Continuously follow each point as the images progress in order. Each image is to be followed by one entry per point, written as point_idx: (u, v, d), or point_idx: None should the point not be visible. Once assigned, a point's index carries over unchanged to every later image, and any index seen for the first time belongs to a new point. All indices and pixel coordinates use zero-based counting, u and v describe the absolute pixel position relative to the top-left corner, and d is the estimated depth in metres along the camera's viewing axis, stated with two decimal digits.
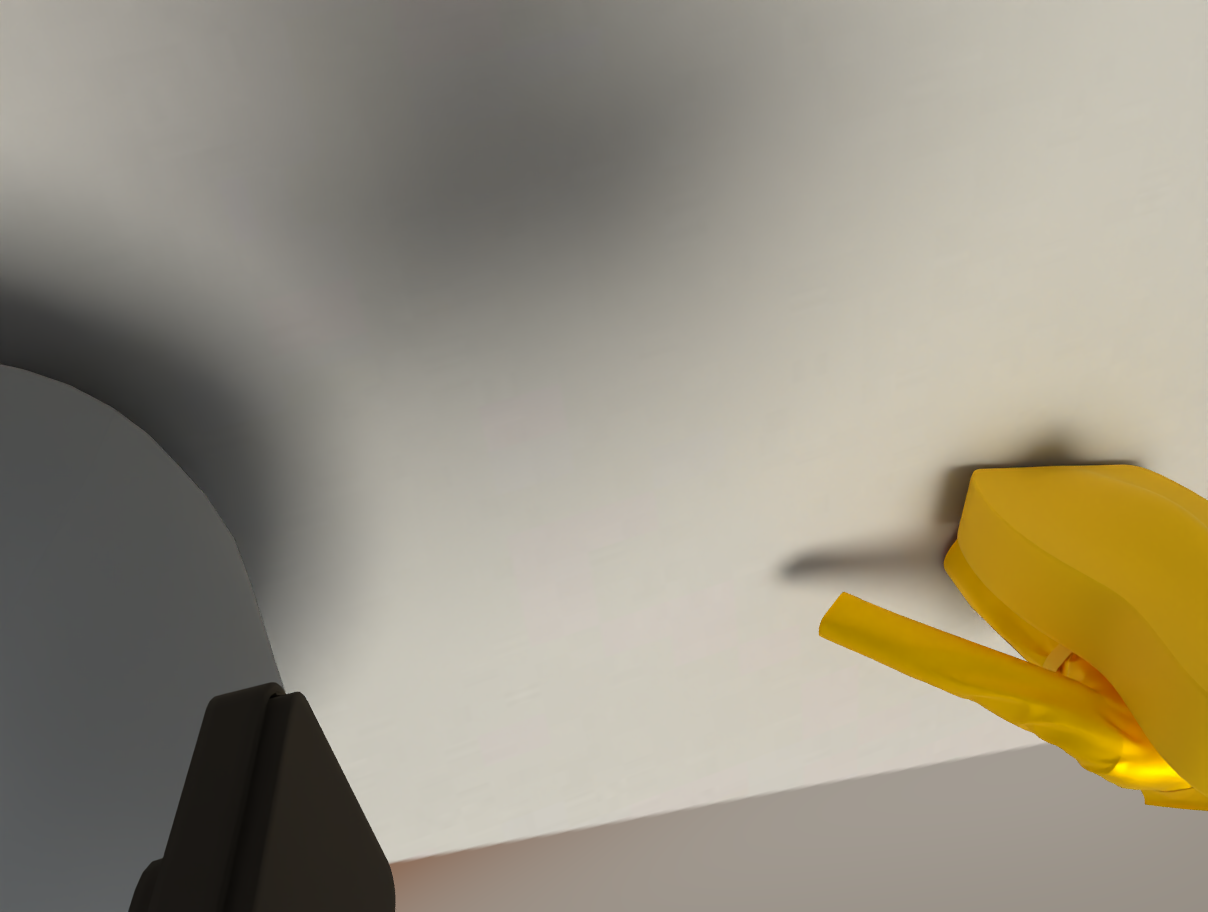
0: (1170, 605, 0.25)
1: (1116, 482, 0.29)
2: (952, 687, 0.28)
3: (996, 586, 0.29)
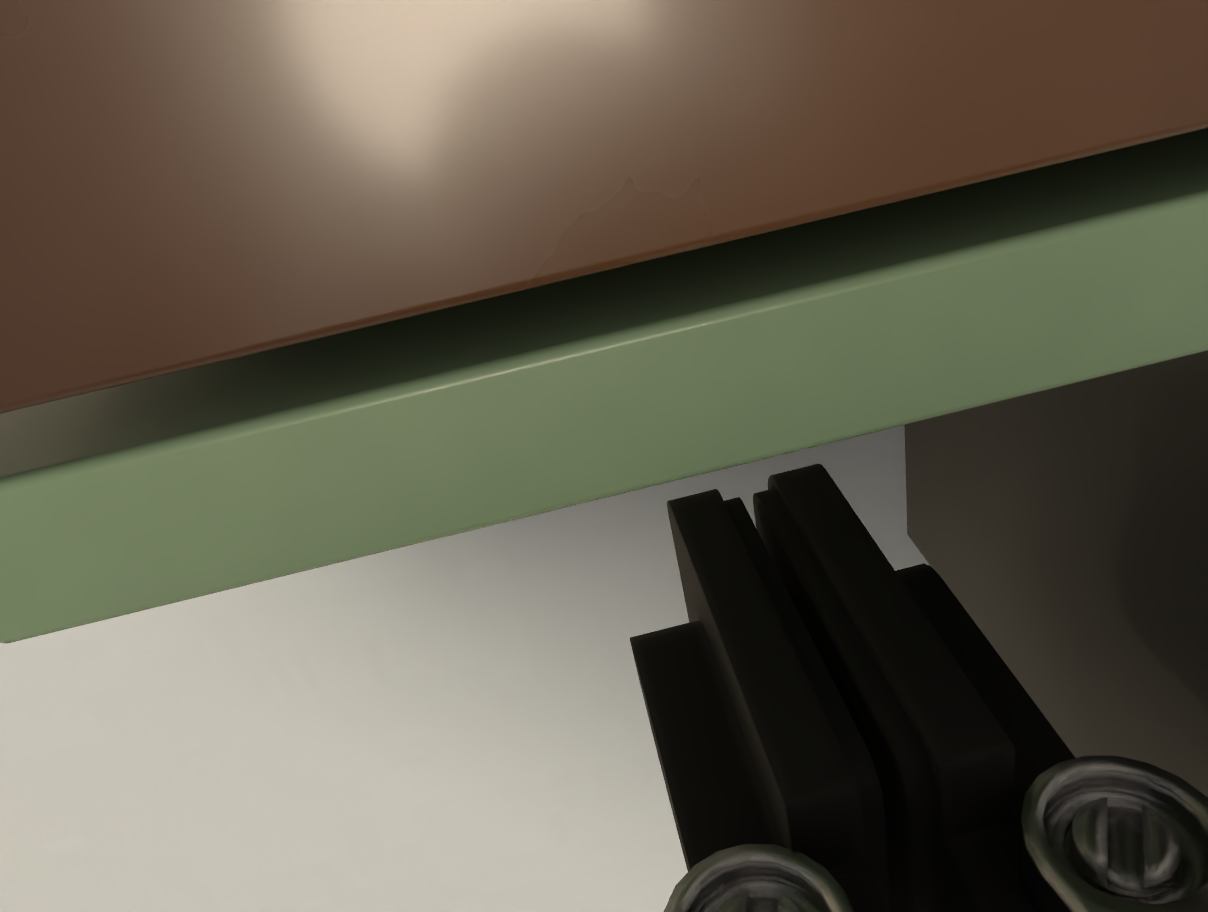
0: None
1: None
2: None
3: None
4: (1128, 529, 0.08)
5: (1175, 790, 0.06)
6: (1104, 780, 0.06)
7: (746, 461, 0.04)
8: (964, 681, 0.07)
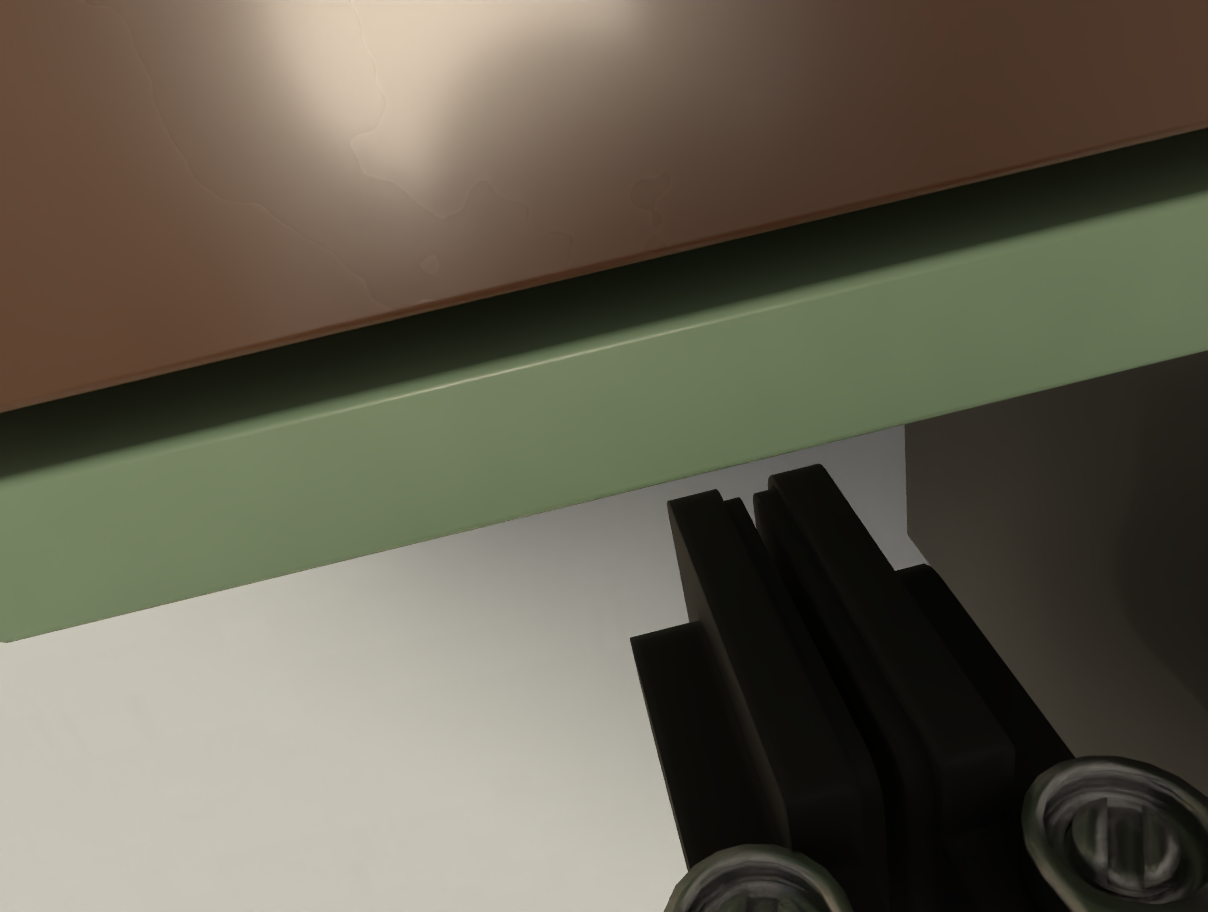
0: None
1: None
2: None
3: None
4: (1128, 531, 0.08)
5: (1176, 792, 0.06)
6: (1104, 780, 0.06)
7: (747, 461, 0.04)
8: (963, 681, 0.07)
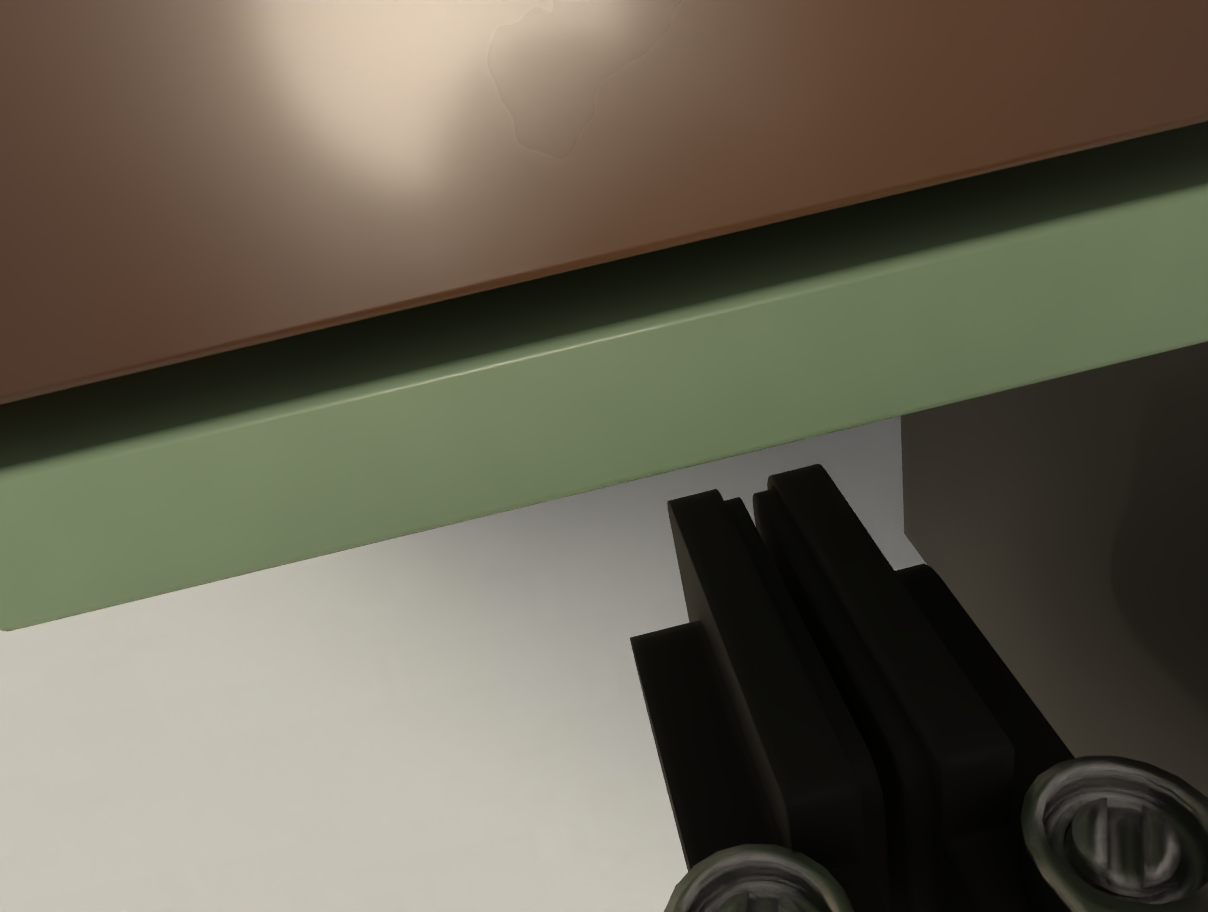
0: None
1: None
2: None
3: None
4: (1120, 526, 0.08)
5: (1175, 792, 0.06)
6: (1104, 780, 0.06)
7: (735, 454, 0.04)
8: (963, 681, 0.07)
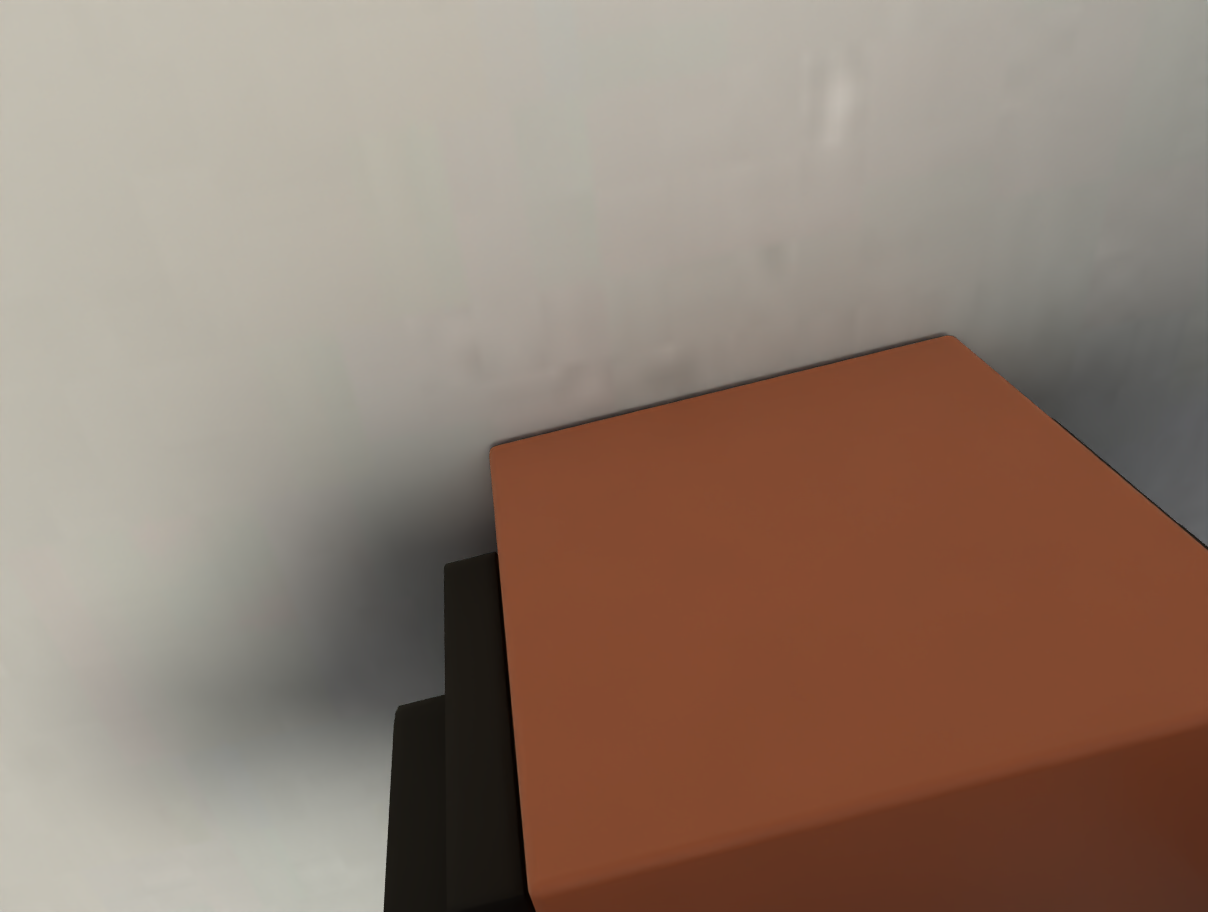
0: None
1: None
2: None
3: None
4: None
5: None
6: None
7: None
8: None
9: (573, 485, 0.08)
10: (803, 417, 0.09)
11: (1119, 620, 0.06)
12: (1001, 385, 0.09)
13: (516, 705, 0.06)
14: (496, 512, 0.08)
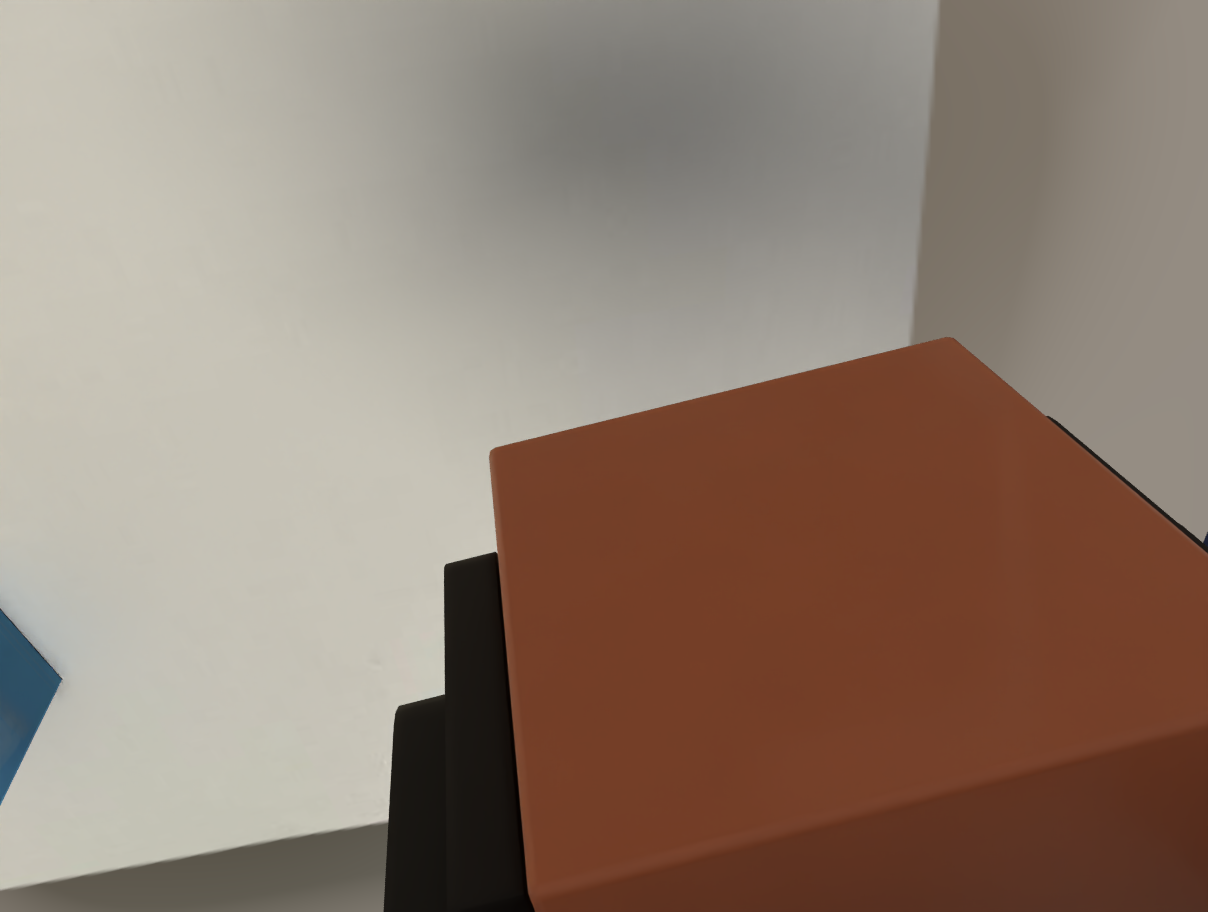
0: None
1: None
2: None
3: None
4: None
5: None
6: None
7: None
8: None
9: (572, 488, 0.08)
10: (802, 418, 0.09)
11: (1118, 621, 0.06)
12: (1000, 387, 0.09)
13: (516, 707, 0.06)
14: (495, 513, 0.08)
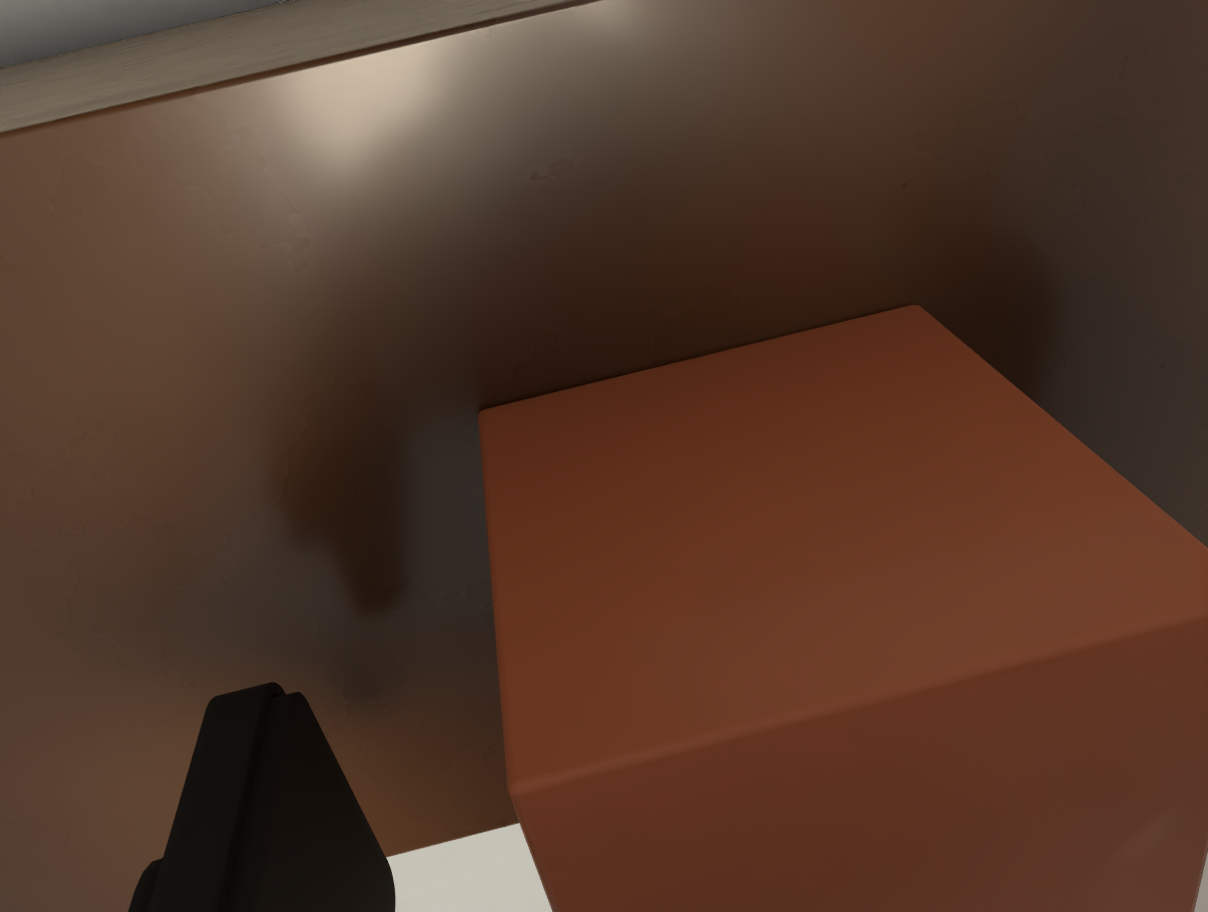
0: None
1: None
2: None
3: None
4: None
5: None
6: None
7: None
8: None
9: (556, 443, 0.09)
10: (774, 379, 0.09)
11: (1053, 550, 0.06)
12: (960, 348, 0.09)
13: (499, 635, 0.07)
14: (483, 468, 0.09)
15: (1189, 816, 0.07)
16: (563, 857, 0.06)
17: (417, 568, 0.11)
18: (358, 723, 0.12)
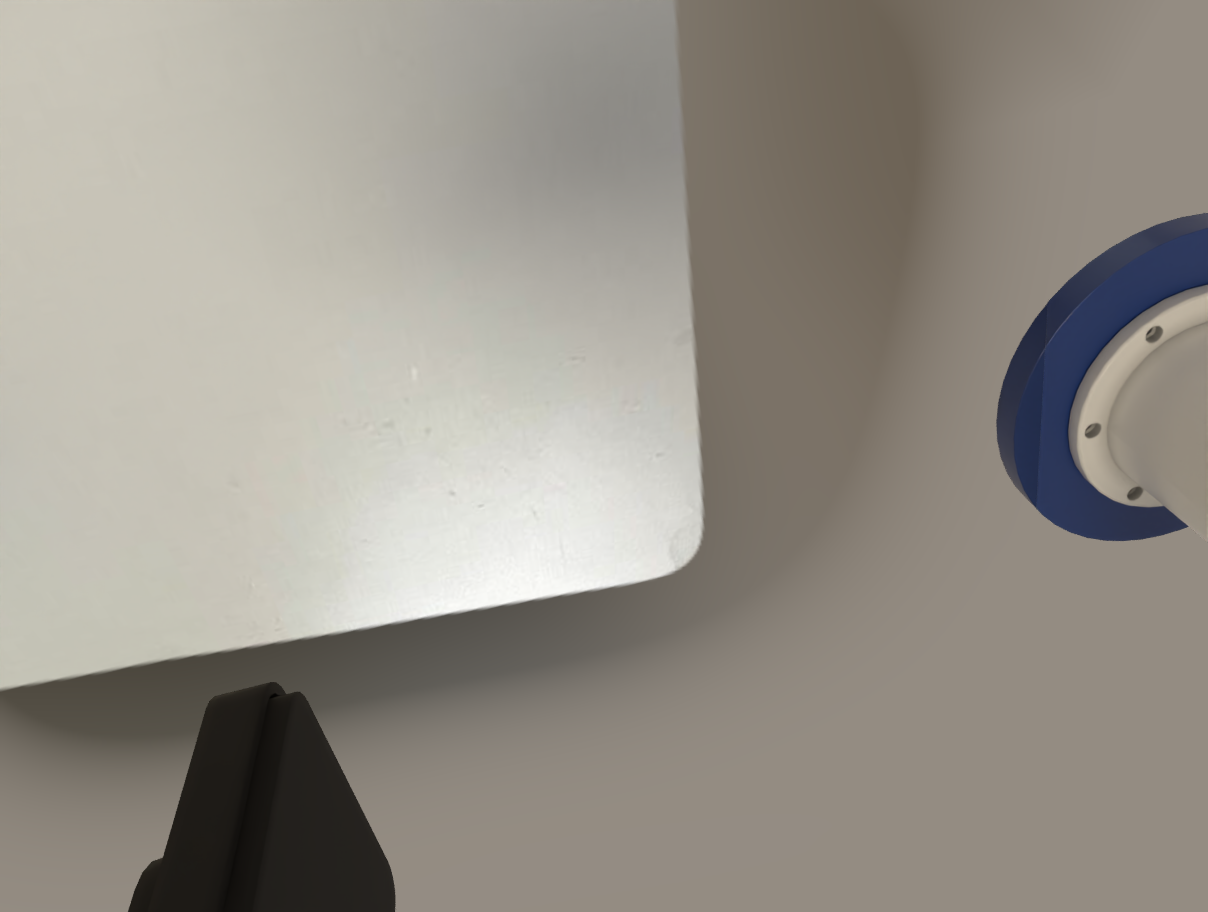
0: None
1: None
2: None
3: None
4: None
5: None
6: None
7: None
8: None
9: None
10: None
11: None
12: None
13: None
14: None
15: None
16: None
17: None
18: None
